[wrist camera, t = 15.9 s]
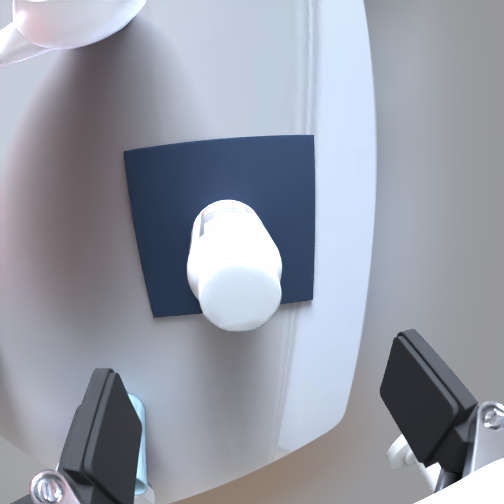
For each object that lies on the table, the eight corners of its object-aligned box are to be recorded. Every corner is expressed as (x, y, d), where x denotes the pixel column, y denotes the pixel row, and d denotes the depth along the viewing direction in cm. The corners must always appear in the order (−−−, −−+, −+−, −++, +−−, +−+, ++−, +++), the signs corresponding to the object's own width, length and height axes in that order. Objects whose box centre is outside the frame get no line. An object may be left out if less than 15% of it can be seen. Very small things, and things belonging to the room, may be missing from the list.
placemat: (313, 134, 22) (313, 134, 21) (312, 298, 27) (312, 299, 27) (124, 151, 20) (123, 151, 20) (154, 316, 25) (153, 317, 25)
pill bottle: (240, 276, 25) (259, 356, 16) (180, 248, 23) (165, 320, 14) (275, 218, 23) (316, 275, 14) (212, 185, 22) (215, 224, 13)
